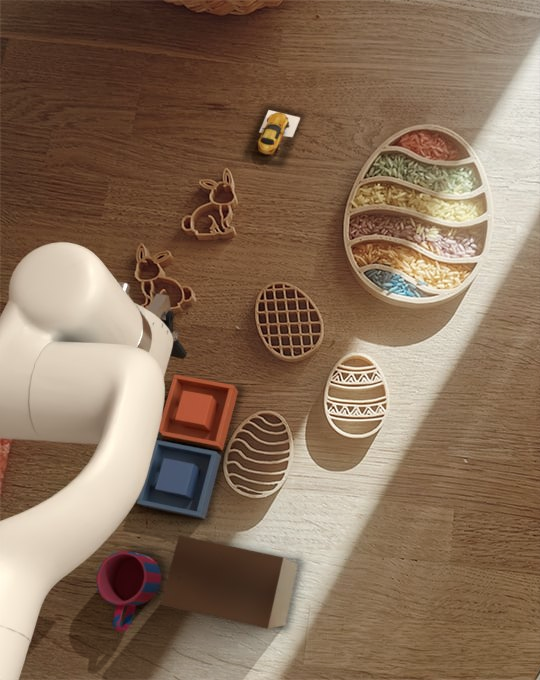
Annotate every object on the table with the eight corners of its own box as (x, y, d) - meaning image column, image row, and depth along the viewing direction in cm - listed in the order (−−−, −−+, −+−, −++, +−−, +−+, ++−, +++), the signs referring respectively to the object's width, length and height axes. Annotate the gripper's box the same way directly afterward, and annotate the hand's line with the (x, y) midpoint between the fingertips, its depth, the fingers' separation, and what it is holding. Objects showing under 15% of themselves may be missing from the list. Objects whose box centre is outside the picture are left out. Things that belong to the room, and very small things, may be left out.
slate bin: (205, 519, 104) (199, 516, 101) (144, 506, 105) (136, 503, 102) (221, 456, 107) (216, 451, 104) (162, 444, 108) (155, 439, 105)
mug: (167, 559, 103) (152, 555, 96) (148, 634, 99) (132, 636, 93) (121, 550, 103) (104, 547, 97) (102, 625, 100) (82, 626, 94)
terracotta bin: (223, 451, 107) (217, 446, 104) (163, 439, 108) (156, 434, 105) (238, 391, 110) (233, 385, 107) (180, 381, 111) (174, 374, 108)
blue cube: (192, 499, 105) (185, 495, 100) (163, 493, 105) (154, 489, 101) (200, 469, 106) (193, 463, 102) (172, 463, 107) (163, 457, 102)
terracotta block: (210, 432, 108) (203, 425, 104) (182, 426, 108) (174, 419, 104) (218, 403, 109) (211, 395, 105) (190, 398, 110) (182, 390, 106)
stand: (285, 625, 99) (267, 628, 84) (193, 604, 100) (160, 604, 85) (298, 564, 101) (283, 557, 86) (208, 545, 103) (178, 535, 88)
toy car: (293, 119, 126) (291, 111, 124) (276, 160, 124) (274, 152, 121) (271, 114, 127) (269, 105, 125) (254, 154, 124) (251, 146, 122)
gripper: (98, 248, 69) (152, 318, 85) (36, 423, 63) (106, 463, 79) (174, 260, 68) (213, 328, 84) (118, 439, 62) (171, 476, 78)
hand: (161, 393), depth 82 cm, fingers open, 9 cm apart
